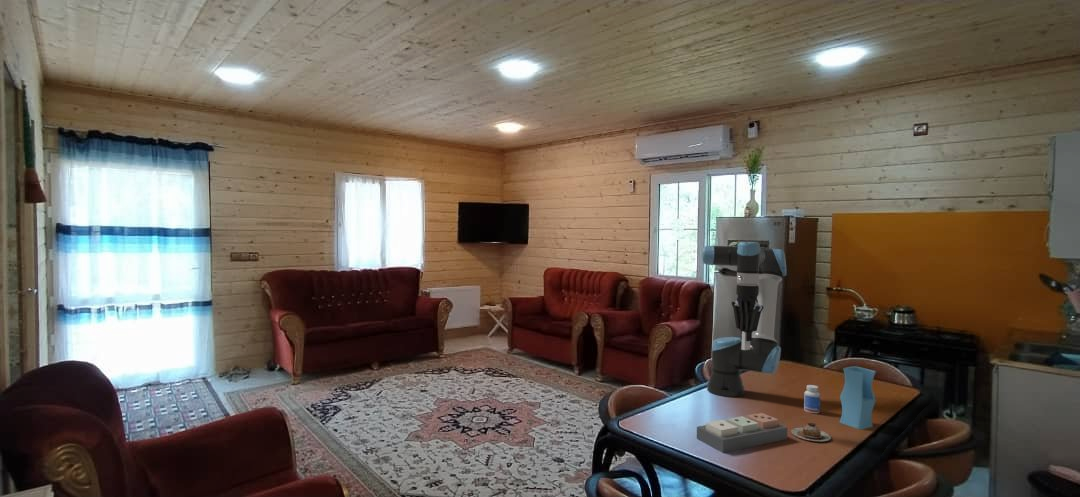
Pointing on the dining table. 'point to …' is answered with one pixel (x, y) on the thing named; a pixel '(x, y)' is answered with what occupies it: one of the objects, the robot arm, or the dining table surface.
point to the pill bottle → (812, 399)
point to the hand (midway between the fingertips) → (745, 349)
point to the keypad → (742, 438)
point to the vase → (857, 397)
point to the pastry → (811, 432)
